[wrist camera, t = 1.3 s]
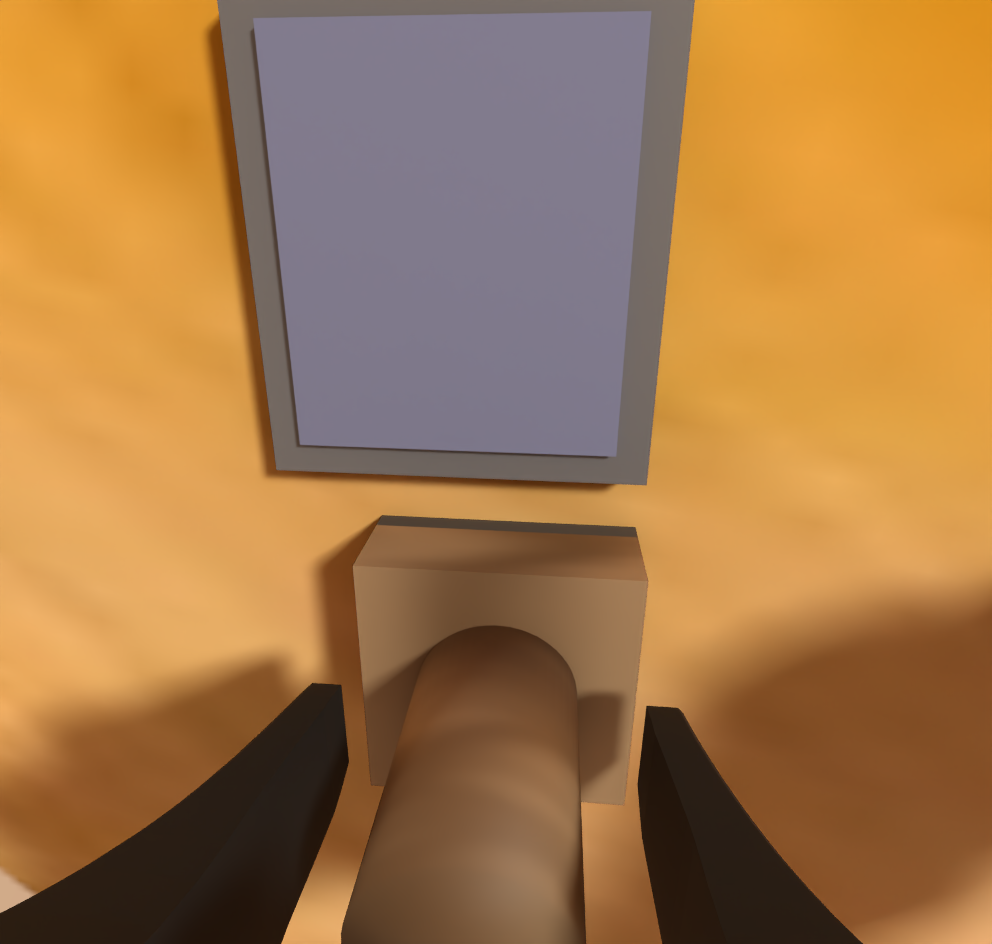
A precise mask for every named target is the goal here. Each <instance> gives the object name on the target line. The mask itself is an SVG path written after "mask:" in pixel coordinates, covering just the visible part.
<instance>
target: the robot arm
mask: <svg viewBox="0 0 992 944" xmlns="http://www.w3.org/2000/svg"><path fill="white" fill-rule="evenodd" d="M348 763H349V758H348V748H347V738H346V728H345V718H344V708H343V698H342V688H341V685H333V684H318V683H312V684H311V685H310V686H309V687H307V688H306V689H305V690H304V691H303V692H302V693H301V694H300V695H299V696H298V697H297V698H296V699H295V700H294V701H293V702H292V703H291V704H290V705H289V706H288V707H287V708H286V709H285V710H284V711H283V712H282V713H281V714H280V715H279V716H278V717H276V718H275V719H274V720H273V721H272V722H271V723H270V724H269V725H268V726H267V727H266V728H265V729H264V730H263V731H262V732H261V733H260V734H259V735H258V736H257V737H255V738H254V739H253V740H252V741H251V742H250V743H249V744H248V745H247V746H246V747H245V748H244V749H242V750H241V751H240V752H239V753H238V754H237V755H236V756H235V757H234V758H233V759H231V760H230V761H229V762H228V763H227V764H226V765H225V766H223V767H222V768H221V769H220V770H219V771H217V772H216V773H215V774H214V775H213V776H212V777H210V778H209V779H208V780H207V781H206V782H204V783H203V784H202V785H201V786H200V787H199V788H197V789H196V790H195V791H194V792H192V793H191V794H190V795H189V796H187V797H186V798H185V799H184V800H182V801H181V802H180V803H178V804H177V805H176V806H175V807H173V808H172V809H171V810H169V811H168V812H166V813H165V814H164V815H162V816H161V817H160V818H158V819H157V820H155V821H154V822H153V823H151V824H150V825H149V826H147V827H146V828H144V829H143V830H141V831H140V832H138V833H137V834H135V835H134V836H132V837H131V838H129V839H128V840H126V841H124V842H123V843H121V844H120V845H118V846H117V847H115V848H114V849H112V850H110V851H109V852H107V853H106V854H104V855H103V856H101V857H100V858H98V859H96V860H95V861H93V862H92V863H90V864H89V865H87V866H85V867H84V868H82V869H80V870H78V871H77V872H75V873H73V874H72V875H70V876H68V877H66V878H65V879H63V880H61V881H60V882H58V883H56V884H54V885H52V886H51V887H49V888H47V889H45V890H43V891H41V892H40V893H38V894H36V895H34V896H32V897H31V898H29V899H27V900H25V901H23V902H21V903H20V904H17V905H16V906H14V907H12V908H10V909H8V910H6V911H4V912H2V913H0V944H281V943H282V940H283V937H284V935H285V932H286V929H287V927H288V924H289V922H290V919H291V917H292V914H293V912H294V910H295V907H296V905H297V902H298V900H299V897H300V895H301V893H302V890H303V888H304V885H305V883H306V881H307V878H308V876H309V873H310V871H311V869H312V866H313V864H314V861H315V859H316V857H317V854H318V852H319V849H320V847H321V844H322V842H323V840H324V837H325V835H326V832H327V830H328V827H329V825H330V822H331V820H332V817H333V815H334V812H335V809H336V806H337V802H338V799H339V796H340V792H341V789H342V785H343V781H344V778H345V774H346V770H347V767H348ZM638 795H639V808H640V820H641V831H642V839H643V845H644V850H645V856H646V861H647V866H648V872H649V877H650V882H651V887H652V892H653V898H654V903H655V908H656V913H657V918H658V924H659V929H660V934H661V939H662V944H863V943H862V942H860V941H859V940H858V939H857V938H856V937H855V936H854V935H853V934H852V933H851V932H850V931H849V930H848V929H847V928H846V927H845V926H844V925H843V924H842V923H841V922H840V921H839V920H838V919H837V918H836V917H835V916H834V915H833V914H832V913H831V912H830V911H829V910H828V909H827V908H826V907H825V906H824V905H823V903H822V902H821V901H820V900H819V899H818V898H817V897H816V896H815V895H814V894H813V893H812V892H811V891H810V890H809V889H808V887H807V886H806V885H805V884H804V883H803V882H802V881H801V879H800V878H799V877H798V876H797V875H796V874H795V873H794V871H793V870H792V869H791V868H790V867H789V866H788V865H787V863H786V862H785V861H784V860H783V859H782V857H781V856H780V855H779V854H778V853H777V851H776V850H775V849H774V848H773V846H772V845H771V844H770V843H769V841H768V840H767V839H766V838H765V836H764V835H763V834H762V832H761V831H760V830H759V828H758V827H757V826H756V825H755V823H754V822H753V821H752V819H751V818H750V817H749V815H748V814H747V813H746V811H745V810H744V808H743V807H742V806H741V804H740V803H739V802H738V800H737V799H736V797H735V796H734V794H733V793H732V791H731V790H730V788H729V787H728V786H727V784H726V783H725V781H724V780H723V778H722V777H721V775H720V774H719V772H718V771H717V769H716V768H715V766H714V765H713V763H712V762H711V760H710V758H709V757H708V755H707V754H706V752H705V750H704V749H703V747H702V745H701V744H700V742H699V741H698V739H697V737H696V735H695V734H694V732H693V730H692V729H691V727H690V725H689V723H688V721H687V720H686V718H685V716H684V714H683V713H682V712H681V711H680V709H679V708H671V707H656V706H647V707H646V716H645V725H644V733H643V742H642V751H641V759H640V768H639V777H638Z"/></svg>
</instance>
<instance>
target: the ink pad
mask: <svg viewBox="0 0 992 944" xmlns="http://www.w3.org/2000/svg"><path fill="white" fill-rule="evenodd" d="M217 1H218V9H219V17H220V25H221V33H222V41H223V49H224V57H225V65H226V73H227V81H228V89H229V97H230V105H231V113H232V121H233V129H234V136H235V144H236V152H237V160H238V168H239V176H240V184H241V192H242V200H243V208H244V216H245V224H246V232H247V240H248V248H249V256H250V264H251V271H252V279H253V287H254V295H255V303H256V311H257V319H258V327H259V335H260V343H261V351H262V359H263V367H264V375H265V383H266V391H267V399H268V407H269V414H270V422H271V430H272V438H273V446H274V454H275V462H276V470H288V471H312V472H337V473H361V474H386V475H410V476H435V477H459V478H484V479H508V480H532V481H557V482H581V483H606V484H630V485H647V475H648V465H649V455H650V445H651V435H652V425H653V415H654V405H655V395H656V385H657V375H658V365H659V354H660V344H661V334H662V324H663V314H664V304H665V294H666V284H667V274H668V264H669V254H670V244H671V234H672V223H673V213H674V203H675V193H676V183H677V173H678V163H679V153H680V143H681V133H682V123H683V113H684V103H685V93H686V82H687V72H688V62H689V52H690V42H691V32H692V22H693V12H694V2H695V0H217Z"/></svg>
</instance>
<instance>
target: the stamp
mask: <svg viewBox="0 0 992 944" xmlns="http://www.w3.org/2000/svg"><path fill="white" fill-rule="evenodd" d="M353 576H354V588H355V600H356V612H357V624H358V636H359V648H360V660H361V672H362V684H363V696H364V708H365V720H366V732H367V744H368V756H369V768H370V780H371V785H375V786H385V787H384V790H383V793H382V797H381V800H380V803H379V807H378V810H377V813H376V816H375V820H374V823H373V826H372V830H371V833H370V836H369V840H368V843H367V846H366V849H365V853H364V856H363V859H362V863H361V866H360V869H359V872H358V876H357V879H356V882H355V886H354V889H353V892H352V895H351V899H350V902H349V905H348V909H347V912H346V915H345V918H344V922H343V926H342V932H341V944H586V930H585V902H584V875H583V847H582V819H581V802H588V803H600V804H613V805H624V802H625V793H626V784H627V775H628V765H629V756H630V747H631V737H632V728H633V719H634V709H635V700H636V691H637V681H638V672H639V663H640V653H641V644H642V635H643V625H644V616H645V607H646V598H647V588H648V578H647V574H646V570H645V566H644V562H643V557H642V553H641V549H640V545H639V541H638V537H637V532H636V528H635V527H619V526H598V525H577V524H555V523H534V522H513V521H491V520H470V519H449V518H427V517H406V516H385V515H382V516H381V518H380V520H379V521H378V523H377V525H376V527H375V528H374V530H373V532H372V533H371V535H370V537H369V539H368V540H367V542H366V544H365V545H364V547H363V549H362V551H361V552H360V554H359V556H358V557H357V559H356V561H355V563H354V564H353Z"/></svg>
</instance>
